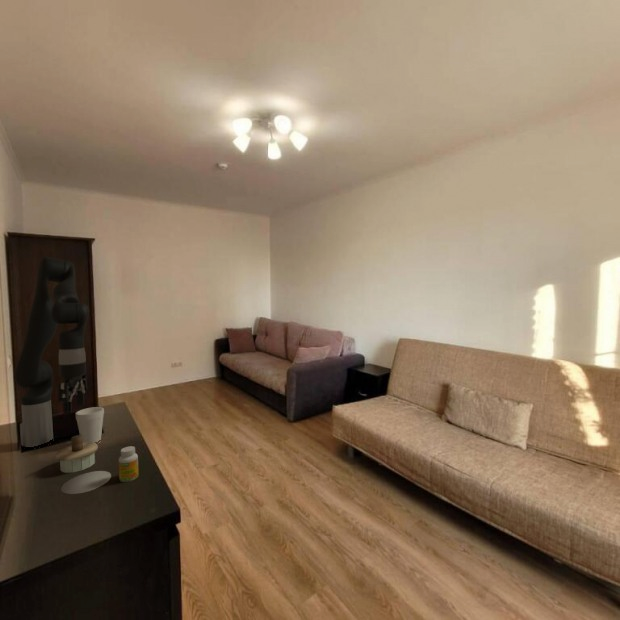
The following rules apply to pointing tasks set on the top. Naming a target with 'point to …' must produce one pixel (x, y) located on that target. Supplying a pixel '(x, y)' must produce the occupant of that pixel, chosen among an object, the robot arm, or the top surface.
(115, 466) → the top surface
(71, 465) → the bowl
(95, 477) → the mat
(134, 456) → the supplement bottle
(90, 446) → the lid
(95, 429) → the foam cup
